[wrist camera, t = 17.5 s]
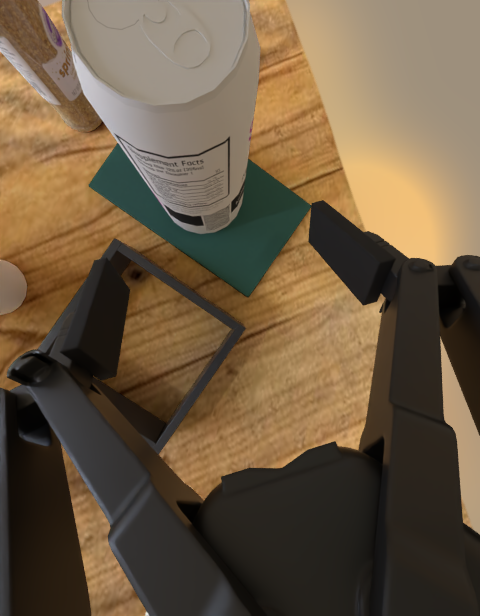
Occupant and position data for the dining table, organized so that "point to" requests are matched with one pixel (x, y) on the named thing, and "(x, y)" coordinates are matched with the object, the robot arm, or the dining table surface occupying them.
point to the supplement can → (174, 95)
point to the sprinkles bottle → (45, 61)
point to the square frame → (161, 431)
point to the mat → (224, 243)
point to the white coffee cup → (11, 287)
